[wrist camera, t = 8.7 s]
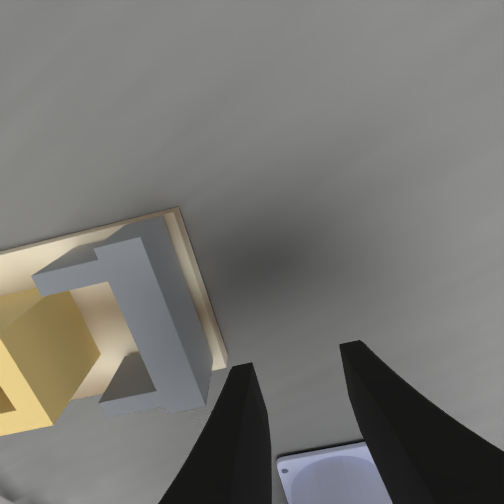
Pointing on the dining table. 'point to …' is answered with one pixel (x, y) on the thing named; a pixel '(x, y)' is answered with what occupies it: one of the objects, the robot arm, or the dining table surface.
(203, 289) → the base plate
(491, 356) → the dining table surface
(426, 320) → the dining table surface
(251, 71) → the dining table surface
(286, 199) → the dining table surface
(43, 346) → the block
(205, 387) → the housing
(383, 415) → the robot arm
